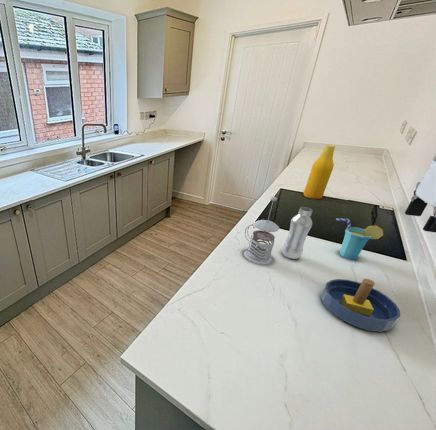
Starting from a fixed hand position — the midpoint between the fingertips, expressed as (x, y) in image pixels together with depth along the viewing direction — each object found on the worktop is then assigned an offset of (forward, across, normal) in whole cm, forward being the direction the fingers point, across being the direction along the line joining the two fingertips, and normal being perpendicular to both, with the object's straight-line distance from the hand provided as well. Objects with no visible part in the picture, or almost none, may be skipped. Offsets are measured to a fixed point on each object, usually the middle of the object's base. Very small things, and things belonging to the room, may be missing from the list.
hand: (421, 222), depth 69 cm
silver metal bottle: (+26, +14, +22) cm, 37 cm away
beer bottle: (+26, +86, +4) cm, 90 cm away
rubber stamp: (+26, -9, +8) cm, 28 cm away
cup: (+26, +23, +3) cm, 35 cm away
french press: (+26, +9, +34) cm, 44 cm away
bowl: (+26, -9, +8) cm, 29 cm away
